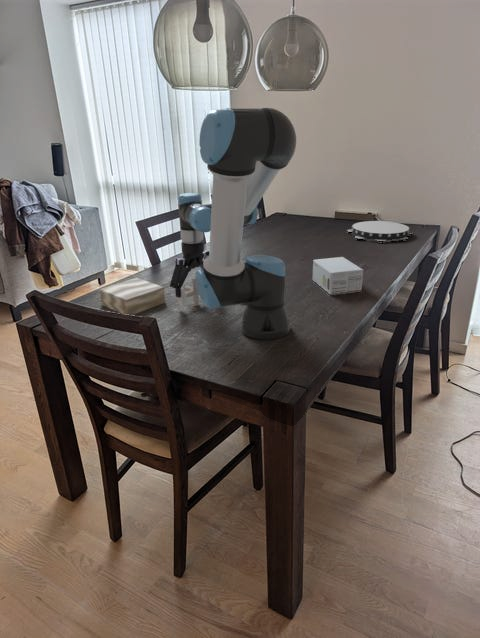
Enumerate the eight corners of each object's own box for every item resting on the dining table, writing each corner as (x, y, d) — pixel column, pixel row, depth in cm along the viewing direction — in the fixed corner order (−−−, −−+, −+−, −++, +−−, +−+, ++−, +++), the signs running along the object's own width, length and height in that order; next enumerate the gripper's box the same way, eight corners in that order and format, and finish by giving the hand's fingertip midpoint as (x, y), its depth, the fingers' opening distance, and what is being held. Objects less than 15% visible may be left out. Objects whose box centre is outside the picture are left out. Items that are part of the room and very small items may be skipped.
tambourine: (370, 226, 273) (371, 217, 271) (424, 235, 251) (425, 226, 249) (335, 237, 252) (335, 227, 250) (390, 248, 230) (391, 238, 228)
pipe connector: (196, 297, 173) (194, 271, 169) (216, 303, 168) (215, 276, 163) (176, 305, 166) (174, 279, 162) (196, 312, 160) (194, 284, 156)
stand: (165, 302, 169) (163, 287, 167) (128, 316, 159) (125, 299, 156) (138, 292, 179) (136, 277, 177) (101, 304, 169) (99, 289, 166)
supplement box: (311, 282, 187) (312, 259, 183) (341, 278, 190) (343, 256, 186) (329, 296, 172) (330, 272, 168) (361, 292, 175) (364, 268, 171)
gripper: (211, 232, 168) (213, 287, 177) (155, 246, 152) (161, 307, 160) (226, 235, 163) (228, 292, 172) (170, 250, 147) (175, 313, 156)
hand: (195, 299), depth 166 cm, fingers open, 13 cm apart
